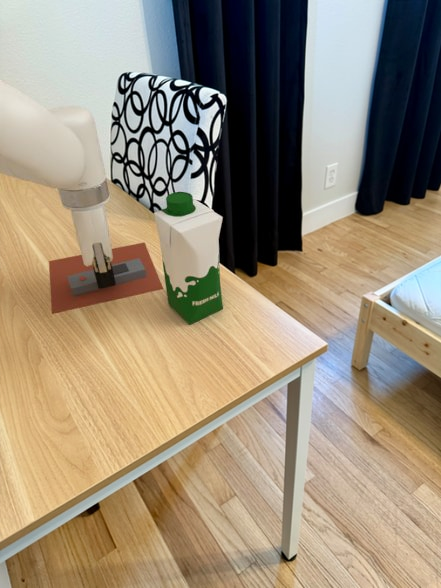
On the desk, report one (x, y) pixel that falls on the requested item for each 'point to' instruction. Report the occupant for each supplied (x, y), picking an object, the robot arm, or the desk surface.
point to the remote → (121, 274)
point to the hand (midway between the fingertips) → (106, 284)
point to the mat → (74, 265)
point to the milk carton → (190, 256)
